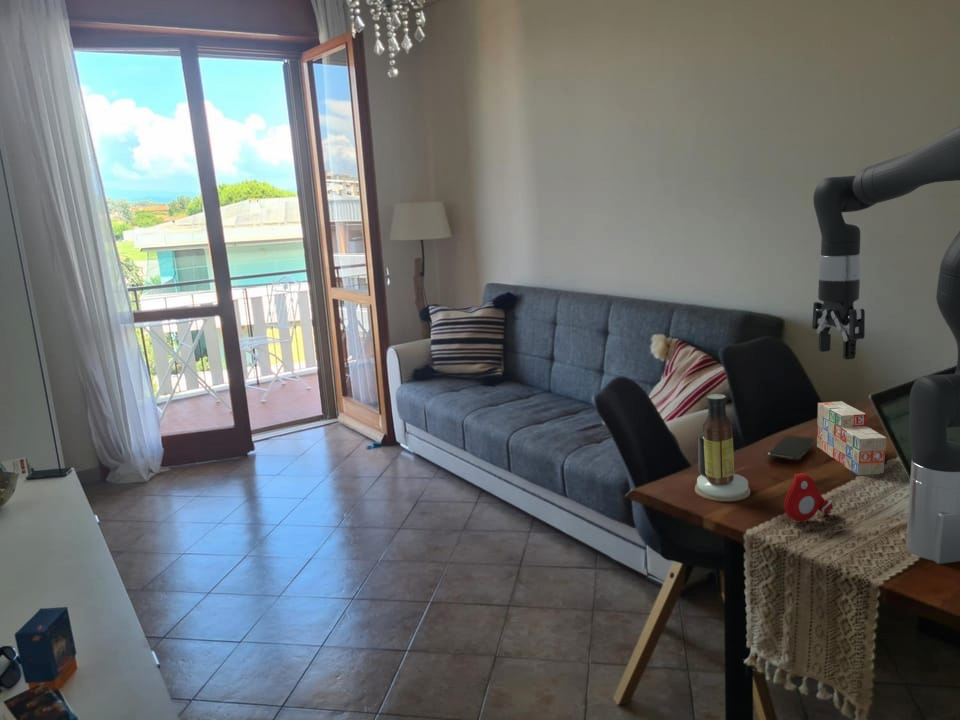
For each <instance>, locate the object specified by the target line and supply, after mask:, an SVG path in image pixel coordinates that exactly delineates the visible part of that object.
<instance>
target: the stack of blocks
mask: <svg viewBox="0 0 960 720" xmlns="http://www.w3.org/2000/svg"><path fill="white" fill-rule="evenodd" d="M816 421H817V424H816V425H817V436H816V447H817V448H819V449H820V450H821V451H822V452H823V453H825V454H827V455H828V456H830V457H831V458H832V459H835V460H836V461H837V462H839V463H840V464H841V465H843V466H844V467H845V468H847V469H848V470H849V471H851V472H852V473H854V474H855V475H857V476H868V475H869V476H870V475H881V474H880V473H884V472H885V462H886V461H885V460H886V459H885V458H886V449H887V437H886V436H884V435H883V434H881V433H879V432H878V431H876V430H874V429H872V428H870V427H869V426H866V425H867V413H865V412H864V411H861V410H859V409H857V408H855V407H853V406H851V405H849V404H847V403H845V402H844V401H842V400H840V401H827V402H824V401H823V402H817V420H816ZM884 474H885V473H884Z"/></svg>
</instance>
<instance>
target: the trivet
mask: <svg viewBox="0 0 960 720" xmlns="http://www.w3.org/2000/svg"><path fill="white" fill-rule="evenodd" d="M733 476H734V479H733V481H732V482H730V483H727V484H716V483H711V482H709V481H708V480H707V479H706V476H703V475H702V474H700V475H698V477H697V479H696V483H695V486H694V492H695V494H696V495H698V496H700V497H702V498H703V499H706V500H710V501H714V502H722V503H723V502H725V503H726V502H727V503H729V502H730V503H731V502H739V501H743V500H745V499H747V498H748V497H750V496H751V488H750V487H749V481H748V479H747V478H745V477H744V476H742V475H740V474H738V473H737V474H736V473H734V474H733Z"/></svg>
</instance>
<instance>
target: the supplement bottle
mask: <svg viewBox="0 0 960 720" xmlns="http://www.w3.org/2000/svg"><path fill="white" fill-rule="evenodd" d="M704 423H705V422H703V423H702V433H701V434H700V435H699V436H698V440H697V441H698V446H697V447H698V472H699V474H700V475H703V476H706V474H705V457H704Z"/></svg>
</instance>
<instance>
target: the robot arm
mask: <svg viewBox="0 0 960 720" xmlns="http://www.w3.org/2000/svg"><path fill="white" fill-rule="evenodd" d="M954 181H960V125H958V126H957V127H954V128H953V129H951V130H949V131H948V132H945V133H944V134H942V135H941V136H939V137H937V138H936V139H934V140H932V141H929V142H928V143H927V144H924V145H923V146H920V147H918V148H917V149H914V150H912V151H911V152H907V153H905V154H902V155H898V156H896V157H893V158H890V159H887V160H884V161H881V162H879V163H876V164H873V165H870V166H867V167H865V168H863V169H862V170H860V171H859V172H858V173H857V174H856V175H846V176H845V175H844V176H830V177H826V178H823V179H822V180H820V181H819V183H817V186H816V187H815V190H814V193H813V196H812V197H813V207H814V211H815V215H816V218H817V223H818V227H819V229H820V234H821V239H820V241H821V244H820V247H821V248H820V262H819V266H818V294H817V298H818V300H819V301H816V302H813V311H812V322H811V323H812V324H811V326H812V327H811V328H812V330H816V333H817V334H818V351H819V352H822V353H824V352H829V351H831V337H832V336H831V331H832V330H833V328H834V327H835V328H836V329H837V331H838V332H839V333H841V336H842V337H843V344H842V345H843V346H842V359H843V360H844V359H845V360H854V359H855V357H856V353H857V352H856V350H857V349H856V348H857V341H859V340H863V339H865V328H866V327H865V325H866V324H865V319H866V318H865V314H866V311H865V309H864V308H856V309H855V307H854V303H855V302H856V301H858V300H859V299H860V290H861V289H860V288H861V285H860V284H861V258H860V257H861V256H860V255H861V254H860V253H861V251H860V250H861V229H860V227H859V226H858V225H854V224H850V223H846V222H845V219H844V216H843V213H852V212H859V211H862V210H866V209H869V208H870V207H872V206H875V205H876V204H878V203H882V202H887V201H891V200H894V199H898V198H901V197H903V196H906V195H909V194H911V193H912V192H914V191H915V190H917V189H918V188H920V187H923V186H925V185H929V184H934V183H942V182H943V183H944V182H954ZM935 296H936V297H935V298H936V304H937V307H938V309H939V311H940V314H941V315H942V318H943V319H944V321H945V323H946V325H947V326H948V328H949V329H950V330H949V331H951V334H952V335H953V338H954V339H955V341H956V346H957V363H956V367H955V368H956V369H955V372H954V373H949V374H948V373H947V374H946V373H945V374H933V375H924V376H921V377H918V378H917V379H916V380H915V381H914V382H913V384H912V386H911V390H910V393H909V394H910V395H909V406H908V407H909V408H908V409H909V411H908V412H909V433H908V435H909V444H910V449H911V466H910V478H909V490H908V491H909V493H908V494H909V495H908V509H907V510H908V511H907V526H906V544H905V547H906V549H907V550H908V551H909V552H910V553H911V554H913V555H914V556H916V557H919V558H921V559H924V560H928V561H932V562H935V564H938V565H942V564H949V563H955V562H956V563H957V562H960V443H959V442H956V441H952V440H949V439H948V428H957V427H960V230H959V231H958V233H957V234H956V235H955V237H954V238H953V240H952V242H951V243H950V245H949V246H948V248H947V249H946V251H945V254H944V255H943V258H941V262H940V267H939V273H938V281H937V287H936V295H935ZM818 320H819V321H818ZM857 328H858V331H857Z"/></svg>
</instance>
